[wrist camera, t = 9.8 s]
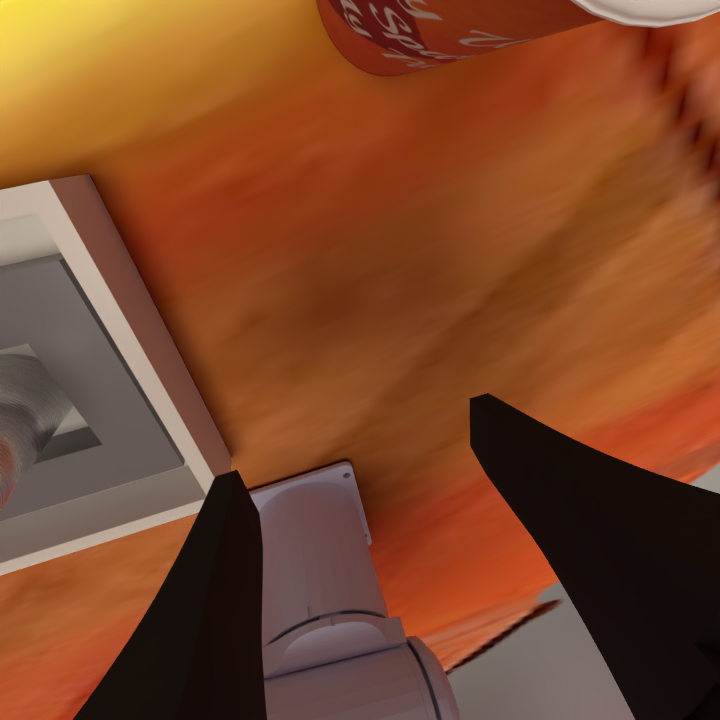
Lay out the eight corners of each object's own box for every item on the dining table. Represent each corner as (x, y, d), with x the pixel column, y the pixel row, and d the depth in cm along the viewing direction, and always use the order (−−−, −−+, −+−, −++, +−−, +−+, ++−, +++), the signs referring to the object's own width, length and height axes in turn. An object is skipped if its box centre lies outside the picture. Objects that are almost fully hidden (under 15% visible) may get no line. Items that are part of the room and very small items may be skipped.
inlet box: (231, 457, 23) (228, 502, 20) (-13, 531, 21) (-55, 592, 18) (89, 173, 15) (48, 180, 12) (-329, 258, 13) (-499, 290, 10)
